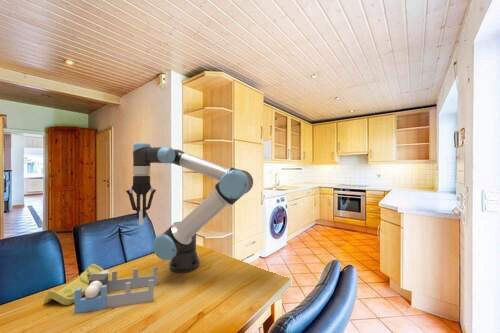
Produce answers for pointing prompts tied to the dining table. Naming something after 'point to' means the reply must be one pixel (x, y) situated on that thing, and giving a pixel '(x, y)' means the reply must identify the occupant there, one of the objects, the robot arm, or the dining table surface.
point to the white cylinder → (97, 283)
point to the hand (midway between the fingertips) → (141, 224)
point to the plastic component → (73, 287)
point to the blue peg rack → (120, 298)
